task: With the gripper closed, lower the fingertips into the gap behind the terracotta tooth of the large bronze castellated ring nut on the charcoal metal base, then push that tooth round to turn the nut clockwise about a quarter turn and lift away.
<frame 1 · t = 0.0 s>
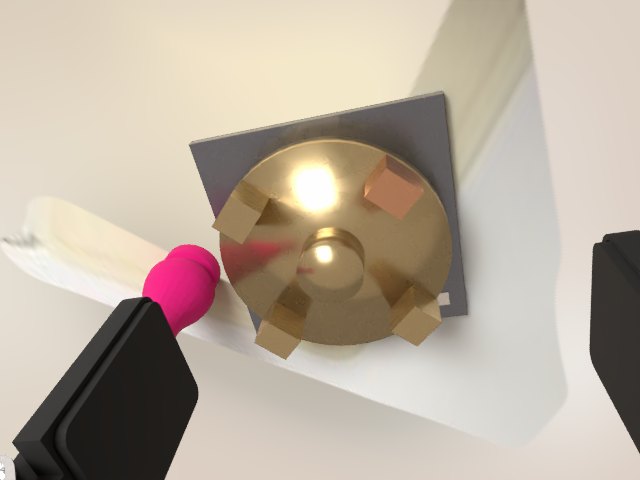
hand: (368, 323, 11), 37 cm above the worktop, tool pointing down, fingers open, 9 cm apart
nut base: (337, 230, 51), on the worktop
pepper mill: (194, 266, 56), on the worktop
ring nut: (332, 259, 46), point 6 cm above the worktop, hinge at 0.0°
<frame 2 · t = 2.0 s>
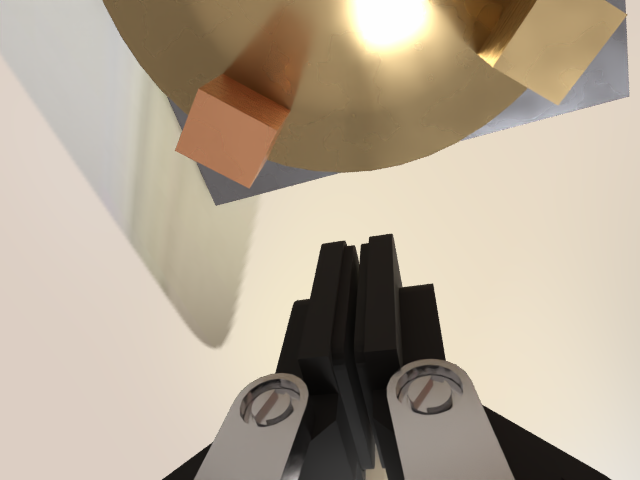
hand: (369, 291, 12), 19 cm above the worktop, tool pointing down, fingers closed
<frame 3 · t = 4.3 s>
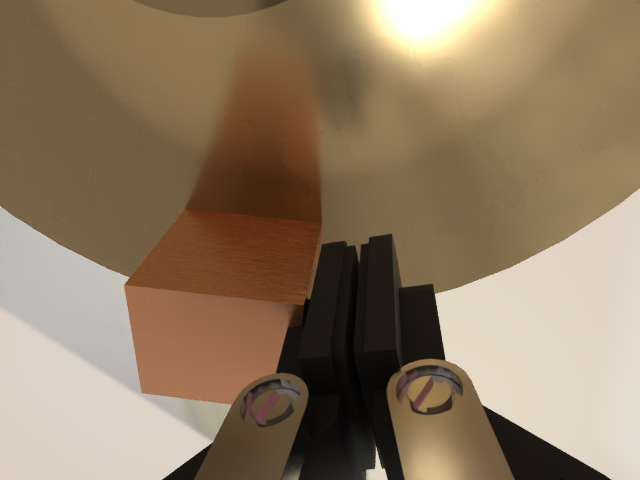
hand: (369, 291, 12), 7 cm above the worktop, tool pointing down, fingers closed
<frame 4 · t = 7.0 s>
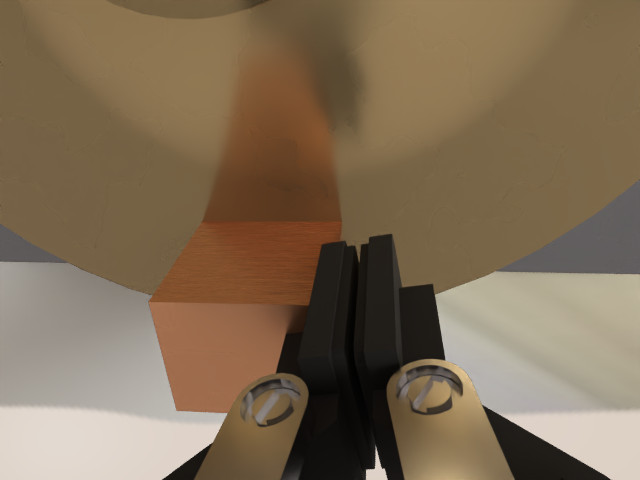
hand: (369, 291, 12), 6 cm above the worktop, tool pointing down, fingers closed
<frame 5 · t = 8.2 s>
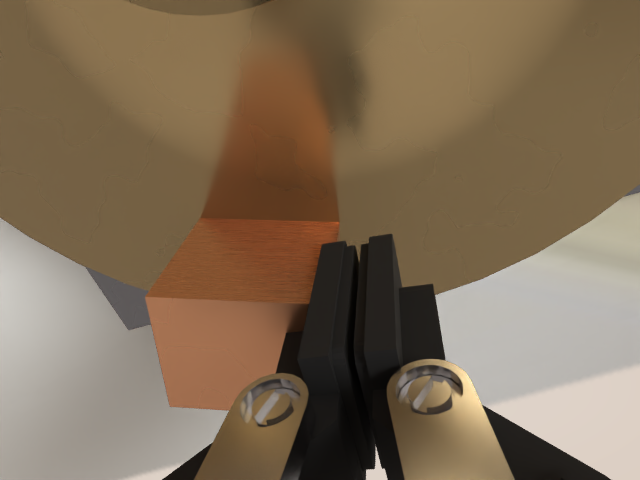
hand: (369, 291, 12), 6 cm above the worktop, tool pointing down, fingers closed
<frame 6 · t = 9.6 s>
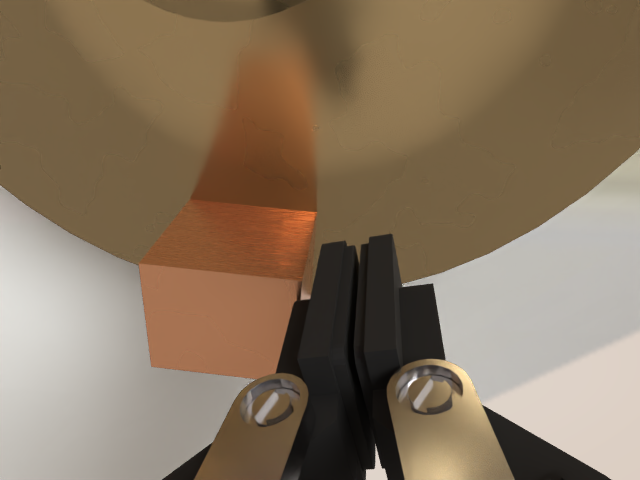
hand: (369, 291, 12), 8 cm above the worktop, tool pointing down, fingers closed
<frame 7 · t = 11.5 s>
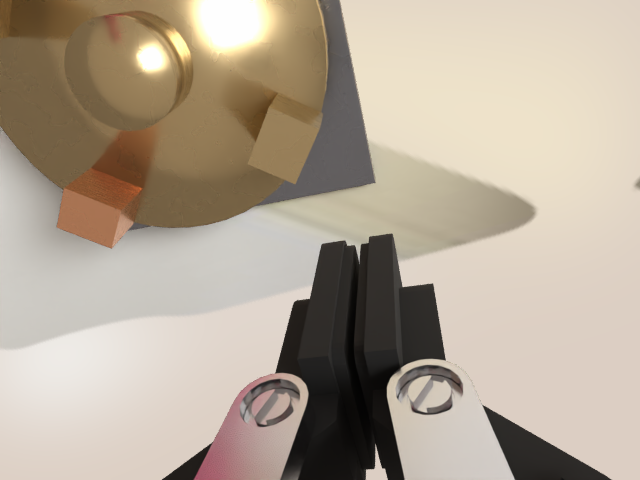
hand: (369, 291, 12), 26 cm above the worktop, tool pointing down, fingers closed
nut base: (172, 52, 34), on the worktop
ring nut: (139, 67, 29), point 6 cm above the worktop, hinge at 81.7°
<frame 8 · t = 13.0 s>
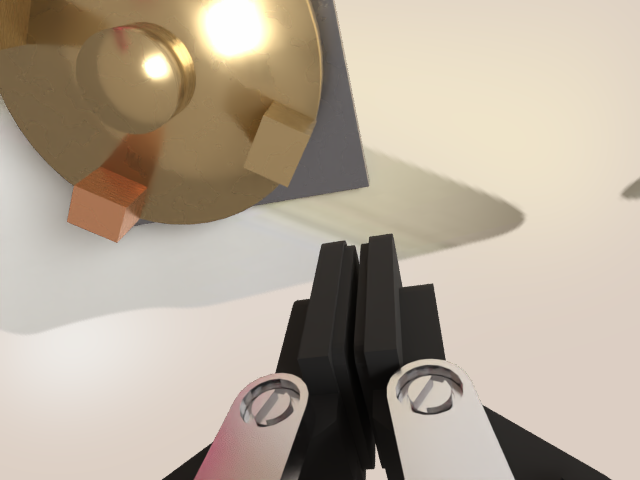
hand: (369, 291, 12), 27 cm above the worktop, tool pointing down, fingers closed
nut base: (179, 59, 36), on the worktop
ring nut: (145, 74, 31), point 6 cm above the worktop, hinge at 81.7°
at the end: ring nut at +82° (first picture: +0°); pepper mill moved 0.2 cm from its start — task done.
